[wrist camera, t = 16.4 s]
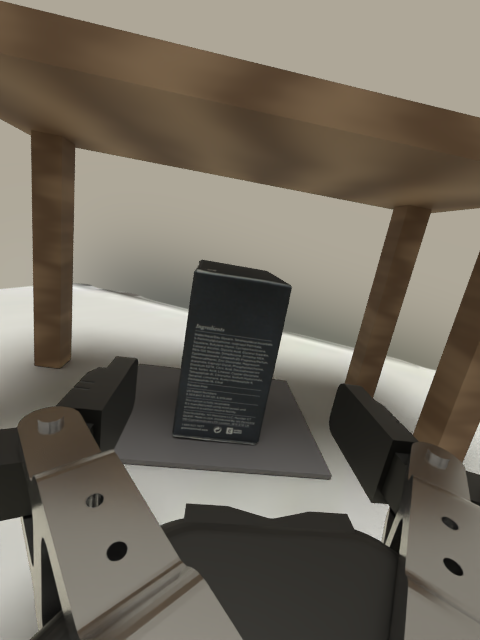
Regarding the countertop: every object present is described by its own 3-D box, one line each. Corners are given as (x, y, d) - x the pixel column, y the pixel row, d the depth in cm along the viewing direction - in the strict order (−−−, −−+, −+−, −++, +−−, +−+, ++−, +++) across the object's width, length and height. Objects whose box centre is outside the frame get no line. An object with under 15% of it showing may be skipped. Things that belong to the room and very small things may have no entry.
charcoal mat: (285, 383, 29) (285, 380, 29) (330, 479, 18) (331, 475, 18) (139, 366, 28) (139, 363, 28) (84, 460, 16) (84, 456, 16)
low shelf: (366, 388, 31) (423, 196, 26) (478, 503, 18) (639, 156, 13) (41, 350, 27) (40, 118, 23) (-125, 460, 14) (-216, -52, 9)
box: (259, 447, 19) (294, 284, 16) (170, 439, 18) (191, 268, 16) (247, 387, 27) (269, 268, 24) (183, 380, 26) (198, 257, 23)
